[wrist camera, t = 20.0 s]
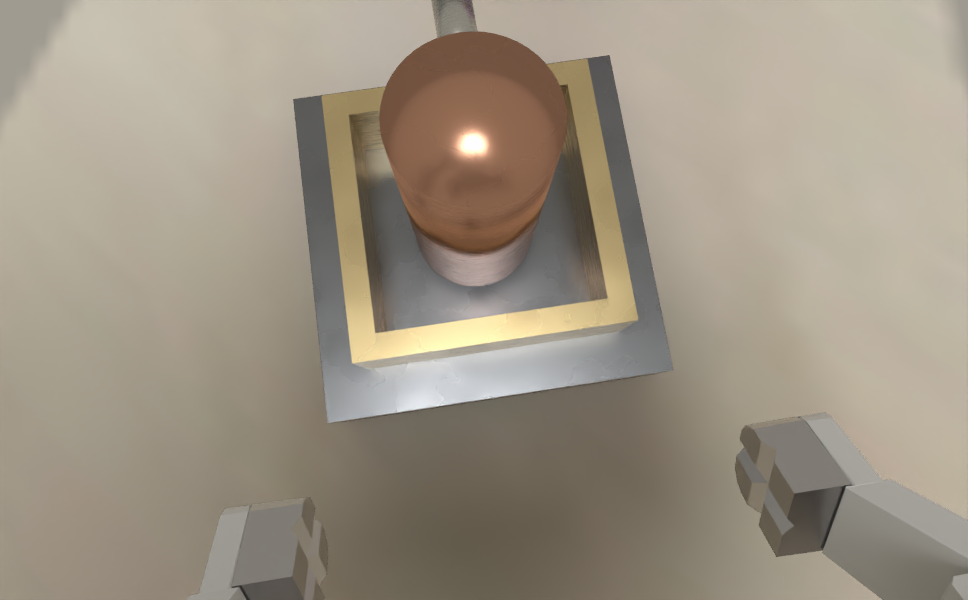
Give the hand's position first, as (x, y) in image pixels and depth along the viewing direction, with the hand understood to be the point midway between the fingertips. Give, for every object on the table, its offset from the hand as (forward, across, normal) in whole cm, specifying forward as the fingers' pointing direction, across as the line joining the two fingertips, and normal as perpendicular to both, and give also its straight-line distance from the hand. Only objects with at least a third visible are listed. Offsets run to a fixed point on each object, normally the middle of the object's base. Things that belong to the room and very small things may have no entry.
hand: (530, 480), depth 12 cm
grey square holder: (+19, 0, +6) cm, 20 cm away
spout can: (+18, 0, +3) cm, 18 cm away
